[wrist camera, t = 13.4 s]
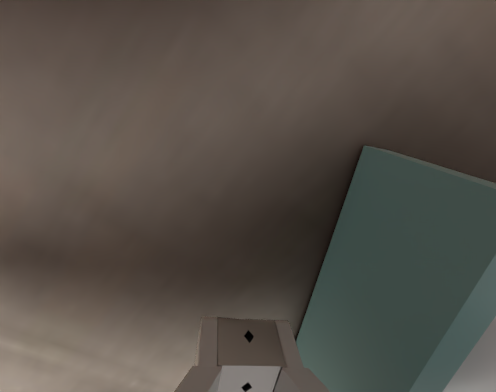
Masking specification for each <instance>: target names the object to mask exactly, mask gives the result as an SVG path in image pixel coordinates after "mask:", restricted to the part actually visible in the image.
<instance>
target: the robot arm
mask: <svg viewBox="0 0 496 392" xmlns="http://www.w3.org/2000/svg"><path fill="white" fill-rule="evenodd" d="M174 392H330V391H329V390H328V389H327V388H326V386H325V385H324V384H323V383H322V382H321V381H320V380H319V379H318V378H317V377H316V376H315V375H314V374H313V372H312V371H311V370H310V369H309V368H304V366H303V363H302V360H301V357H300V354H299V351H298V348H297V344H296V341H295V338H294V335H293V332H292V329H291V326H290V323H289V322H288V321H283V320H263V319H235V318H222V317H206V316H202V317H201V323H200V329H199V335H198V342H197V349H196V356H195V366H192V368H191V369H190V370H189V372H188V373H187V375H186V376H185V377H184V379H183V380H182V382H181V383H180V384H179V386H178V387H177V389H176V390H175V391H174Z"/></svg>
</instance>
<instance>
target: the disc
mask: <svg viewBox="0 0 496 392" xmlns="http://www.w3.org/2000/svg"><path fill="white" fill-rule="evenodd" d="M443 392H496V316H495V318H494V319H493V321H492V322H491V323H490V325H489V326H488V328H487V329H486V331H485V332H484V333H483V335H482V336H481V338H480V339H479V341H478V342H477V343H476V345H475V346H474V348H473V349H472V350H471V352H470V353H469V355H468V356H467V358H466V359H465V360H464V362H463V363H462V365H461V366H460V367H459V369H458V370H457V372H456V373H455V375H454V376H453V377H452V379H451V380H450V382H449V383H448V385H447V386H446V387H445V389H444V390H443Z"/></svg>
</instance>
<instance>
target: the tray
mask: <svg viewBox="0 0 496 392" xmlns="http://www.w3.org/2000/svg"><path fill="white" fill-rule="evenodd" d="M495 316H496V183H493V182H490V181H487V180H483V179H480V178H477V177H474V176H471V175H467V174H464V173H461V172H458V171H455V170H451V169H448V168H445V167H442V166H438V165H435V164H432V163H429V162H426V161H422V160H419V159H416V158H413V157H410V156H406V155H403V154H400V153H397V152H393V151H390V150H387V149H381V148H376V147H370V146H365V145H364V147H363V150H362V153H361V156H360V159H359V161H358V164H357V167H356V170H355V173H354V176H353V179H352V182H351V184H350V187H349V190H348V193H347V196H346V199H345V202H344V205H343V207H342V210H341V213H340V216H339V219H338V222H337V225H336V228H335V231H334V233H333V236H332V239H331V242H330V245H329V248H328V251H327V254H326V256H325V259H324V262H323V265H322V268H321V271H320V274H319V277H318V280H317V282H316V285H315V288H314V291H313V294H312V297H311V300H310V303H309V305H308V308H307V311H306V314H305V317H304V320H303V323H302V326H301V329H300V331H299V334H298V337H297V340H296V344H297V348H298V351H299V354H300V357H301V360H302V363H303V366H304V368H309V369H310V370H311V371H312V372H313V374H314V375H315V376H316V377H317V378H318V379H319V380H320V381H321V382H322V383H323V384H324V385H325V386H326V388H327V389H328V390H329V391H330V392H443V390H444V389H445V387H446V386H447V385H448V383H449V382H450V380H451V379H452V377H453V376H454V375H455V373H456V372H457V370H458V369H459V367H460V366H461V365H462V363H463V362H464V360H465V359H466V358H467V356H468V355H469V353H470V352H471V350H472V349H473V348H474V346H475V345H476V343H477V342H478V341H479V339H480V338H481V336H482V335H483V333H484V332H485V331H486V329H487V328H488V326H489V325H490V323H491V322H492V321H493V319H494V318H495Z"/></svg>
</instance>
